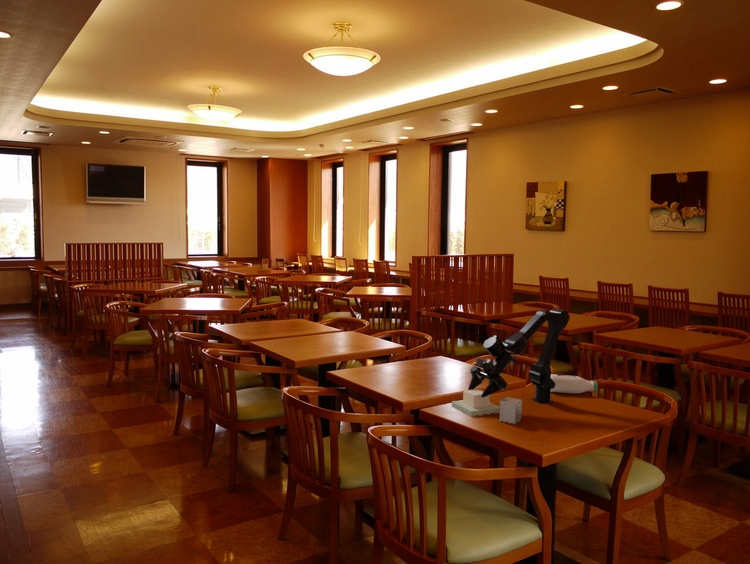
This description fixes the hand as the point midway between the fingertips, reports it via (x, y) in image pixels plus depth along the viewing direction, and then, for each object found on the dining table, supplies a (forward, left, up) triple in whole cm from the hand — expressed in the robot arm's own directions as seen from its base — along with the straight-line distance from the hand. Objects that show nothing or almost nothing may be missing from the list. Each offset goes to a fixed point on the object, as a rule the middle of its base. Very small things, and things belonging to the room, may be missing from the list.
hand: (475, 393), depth 241 cm
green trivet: (0, +1, -6) cm, 6 cm away
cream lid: (0, +1, -4) cm, 4 cm away
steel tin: (+16, +7, -6) cm, 18 cm away
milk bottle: (-16, +45, -2) cm, 48 cm away
